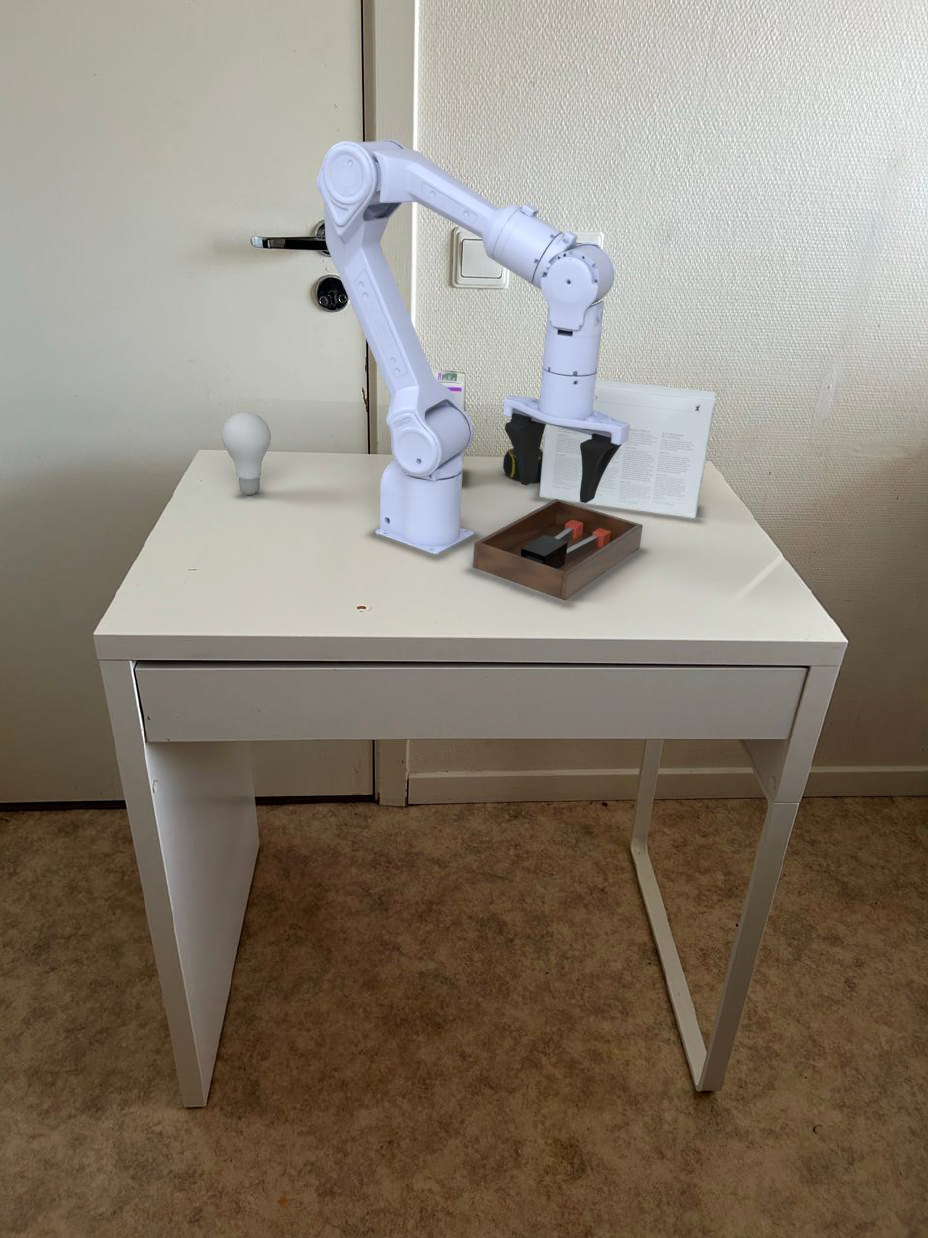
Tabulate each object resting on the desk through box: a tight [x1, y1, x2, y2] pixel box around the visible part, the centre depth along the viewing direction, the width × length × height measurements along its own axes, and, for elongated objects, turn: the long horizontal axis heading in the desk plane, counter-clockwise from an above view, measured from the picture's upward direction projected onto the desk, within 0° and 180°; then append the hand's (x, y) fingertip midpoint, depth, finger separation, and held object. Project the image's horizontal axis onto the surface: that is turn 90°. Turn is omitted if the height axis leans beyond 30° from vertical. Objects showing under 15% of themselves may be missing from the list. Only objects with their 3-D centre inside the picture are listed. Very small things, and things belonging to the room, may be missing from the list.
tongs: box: [521, 520, 611, 569], centre depth 111 cm, size 5×15×3 cm, turn 144°
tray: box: [472, 499, 644, 601], centre depth 111 cm, size 12×18×4 cm
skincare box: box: [538, 378, 717, 519], centre depth 125 cm, size 21×6×16 cm, turn 76°
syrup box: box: [432, 369, 467, 481], centre depth 130 cm, size 6×6×14 cm
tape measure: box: [502, 447, 543, 483], centre depth 135 cm, size 7×7×4 cm
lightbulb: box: [221, 411, 272, 496], centre depth 123 cm, size 6×6×11 cm
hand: (557, 491), depth 106 cm, fingers open, 7 cm apart
